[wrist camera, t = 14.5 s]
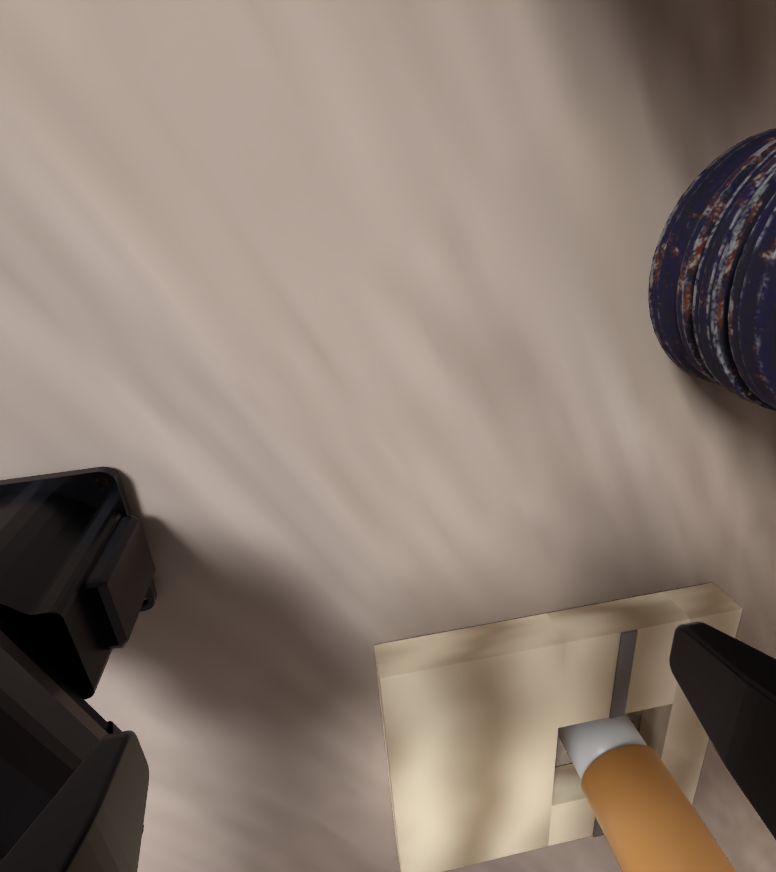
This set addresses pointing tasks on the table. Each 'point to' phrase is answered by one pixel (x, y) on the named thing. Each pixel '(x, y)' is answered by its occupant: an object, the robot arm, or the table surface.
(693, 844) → the orange rounded cylinder
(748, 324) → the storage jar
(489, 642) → the subfloor panel
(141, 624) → the table surface
